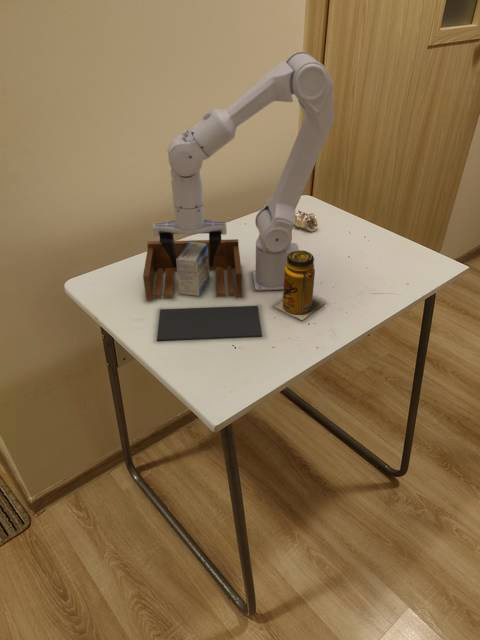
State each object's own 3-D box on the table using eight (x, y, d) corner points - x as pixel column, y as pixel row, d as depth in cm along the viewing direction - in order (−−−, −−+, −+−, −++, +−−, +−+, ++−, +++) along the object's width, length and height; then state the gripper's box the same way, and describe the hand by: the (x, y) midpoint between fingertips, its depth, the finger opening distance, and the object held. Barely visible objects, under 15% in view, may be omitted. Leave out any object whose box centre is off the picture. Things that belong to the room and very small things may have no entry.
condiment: (274, 307, 104) (276, 256, 96) (298, 291, 109) (302, 241, 101) (301, 321, 101) (306, 269, 93) (326, 303, 106) (332, 253, 98)
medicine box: (199, 297, 106) (196, 261, 101) (179, 294, 107) (175, 258, 101) (210, 278, 112) (208, 243, 106) (191, 275, 113) (188, 240, 107)
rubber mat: (257, 307, 104) (257, 305, 104) (262, 336, 96) (262, 335, 96) (160, 310, 102) (160, 309, 102) (157, 341, 94) (156, 339, 94)
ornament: (324, 227, 133) (326, 214, 131) (307, 235, 129) (308, 221, 127) (303, 217, 137) (304, 204, 135) (285, 224, 134) (286, 211, 131)
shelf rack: (238, 266, 116) (238, 239, 112) (242, 297, 107) (241, 268, 102) (151, 269, 114) (147, 241, 110) (146, 301, 105) (142, 271, 100)
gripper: (224, 194, 101) (226, 254, 110) (151, 195, 99) (159, 256, 108) (226, 209, 96) (227, 271, 104) (149, 210, 94) (157, 273, 103)
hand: (193, 264), depth 106 cm, fingers open, 7 cm apart
